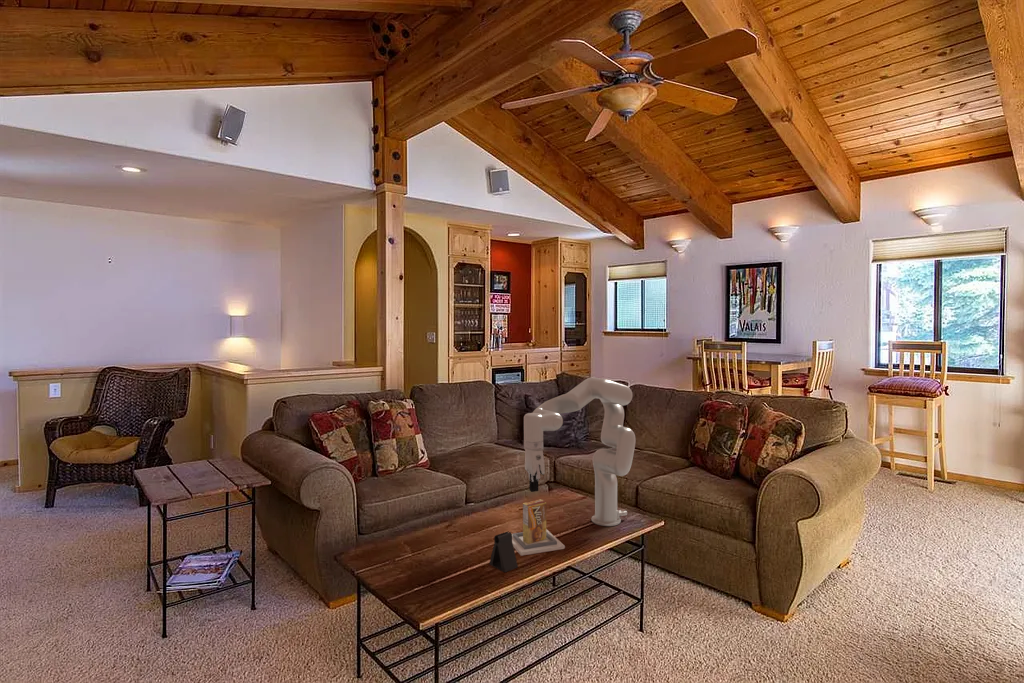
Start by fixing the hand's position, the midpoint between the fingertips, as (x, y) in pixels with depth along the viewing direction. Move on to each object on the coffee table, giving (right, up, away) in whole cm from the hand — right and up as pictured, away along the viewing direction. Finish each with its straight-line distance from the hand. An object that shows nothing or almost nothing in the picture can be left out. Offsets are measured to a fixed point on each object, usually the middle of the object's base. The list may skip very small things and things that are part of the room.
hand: (533, 490), depth 231 cm
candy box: (0, -20, +1) cm, 20 cm away
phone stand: (-12, -23, -19) cm, 32 cm away
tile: (0, -21, +1) cm, 21 cm away
